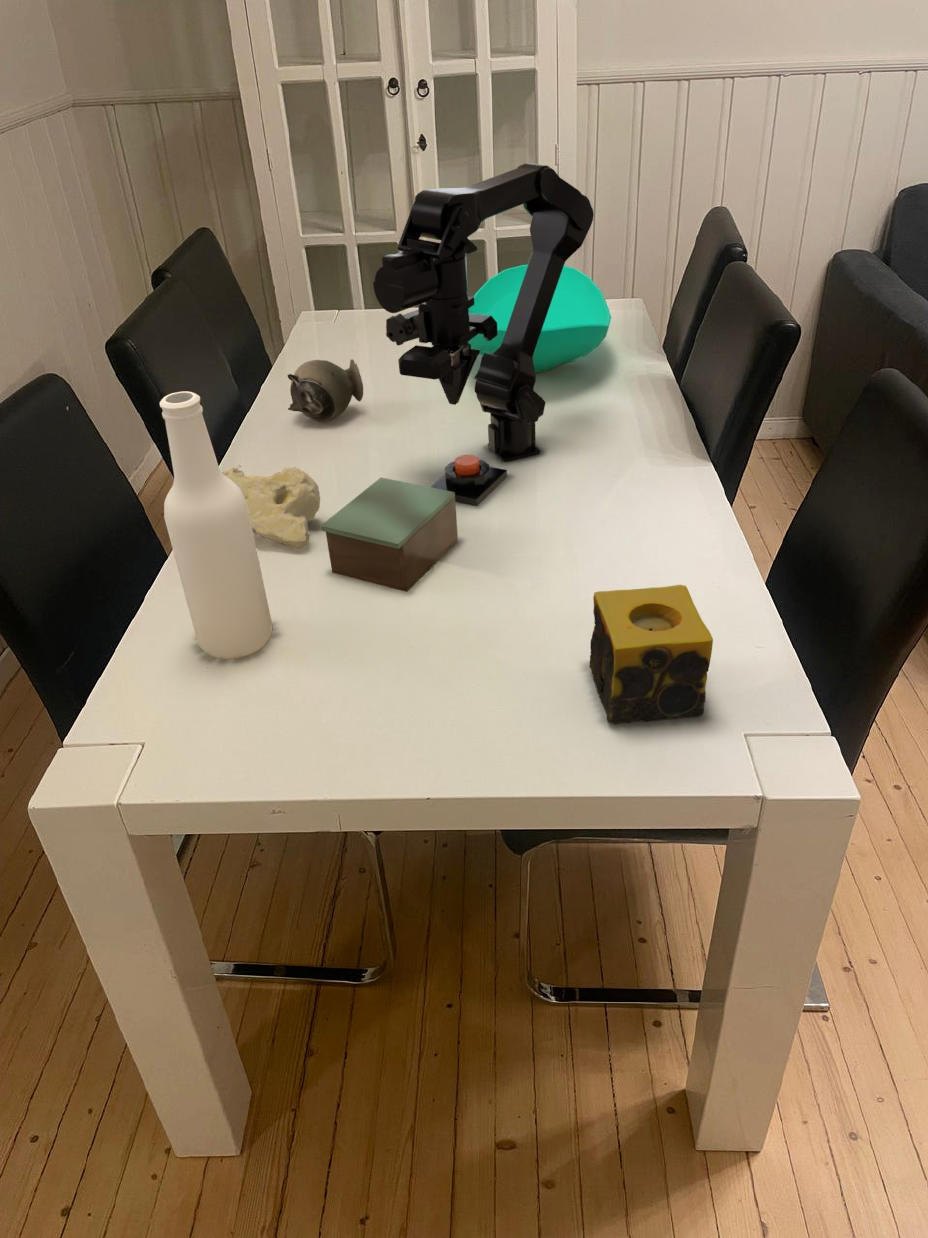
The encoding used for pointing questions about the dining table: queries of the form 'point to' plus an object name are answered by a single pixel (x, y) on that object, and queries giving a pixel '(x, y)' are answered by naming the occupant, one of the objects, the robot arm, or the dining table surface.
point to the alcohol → (212, 539)
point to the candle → (649, 654)
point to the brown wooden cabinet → (395, 553)
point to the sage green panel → (388, 512)
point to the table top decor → (568, 324)
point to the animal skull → (279, 503)
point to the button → (467, 465)
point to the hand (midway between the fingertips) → (453, 403)
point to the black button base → (471, 483)
